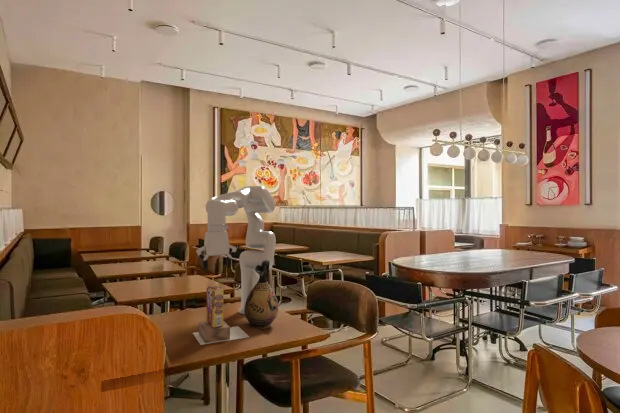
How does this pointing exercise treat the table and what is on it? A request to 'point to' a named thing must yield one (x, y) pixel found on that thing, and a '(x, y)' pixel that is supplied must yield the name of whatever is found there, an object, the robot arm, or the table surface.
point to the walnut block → (214, 332)
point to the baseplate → (234, 334)
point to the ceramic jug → (261, 300)
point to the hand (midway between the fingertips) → (217, 268)
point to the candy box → (214, 306)
